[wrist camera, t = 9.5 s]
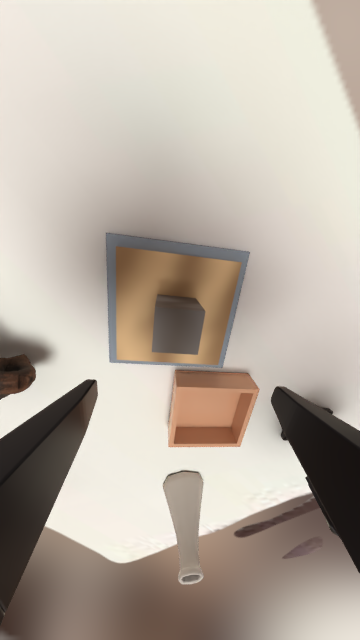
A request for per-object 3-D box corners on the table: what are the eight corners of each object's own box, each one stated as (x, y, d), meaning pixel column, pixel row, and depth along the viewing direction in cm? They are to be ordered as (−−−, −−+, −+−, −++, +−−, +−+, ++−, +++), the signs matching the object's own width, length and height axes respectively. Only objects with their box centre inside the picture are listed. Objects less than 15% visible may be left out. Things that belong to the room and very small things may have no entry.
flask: (162, 471, 30) (161, 571, 20) (204, 467, 30) (221, 563, 21) (163, 495, 32) (162, 594, 23) (201, 492, 33) (216, 586, 23)
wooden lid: (238, 262, 18) (266, 265, 13) (216, 361, 22) (231, 392, 17) (118, 246, 16) (98, 243, 11) (118, 355, 21) (103, 388, 16)
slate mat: (248, 251, 18) (249, 251, 18) (221, 365, 23) (222, 367, 22) (107, 233, 16) (105, 232, 16) (110, 360, 21) (109, 362, 21)
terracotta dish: (248, 373, 24) (259, 389, 21) (232, 426, 27) (239, 446, 24) (175, 370, 22) (176, 386, 20) (168, 426, 26) (168, 447, 23)
